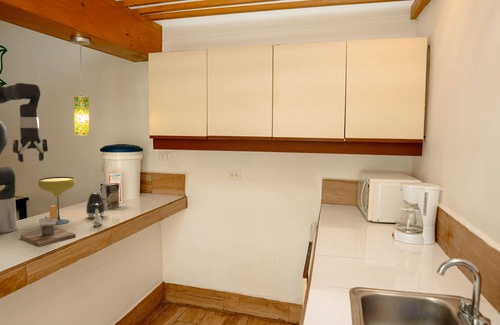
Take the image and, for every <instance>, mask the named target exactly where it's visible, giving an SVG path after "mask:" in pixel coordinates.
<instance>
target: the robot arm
mask: <svg viewBox="0 0 500 325" xmlns="http://www.w3.org/2000/svg"><path fill="white" fill-rule="evenodd" d="M41 96H42V90H41V88H40V86H39V85H38V84H34V83H25V82H24V83H23V82H18V83H15V84H12V85H7V86H1V85H0V105H1V104H5V103H8V102H9V101H20V100H29V101H28V103H23V104H21V105H20V106H19V132H20V133H19V134H20V140H19V139H13V140H12V153H14V154H17V160H18V161H19V162H20V163H24V152H25V151H26V150H27V149H28V150H31V149H35V150H37V152H38V161H39V162H43V160H44V159H45V158H44V157H45V156H44V155H45V154H44V153H46V152H48V151H49V150H48V149H49V148H48V140H47V139H46V138H42V139H40V122H39V116H38V115H39V114H38V112H39V111H38V108H39V104H40V99H41ZM7 130H8V129H7V127H6V126H5V124H4V123H3V121H2V120H0V155H2V153H3V151H4V150H5V148H6V146H7V145H8V140H9V138H8V131H7ZM20 144H21V145H20ZM40 144H41V146H42V147H41V146H40ZM19 145H20V147H19ZM0 186H4V187H3V188H2V189H0V234H4V233H5V234H6V233H10V232H11V233H12V232H14V231H16V230H18V225H17V224H18V223H17V222H18V221H17V204H16V171H15V169H14V168H13V167H11V166H4V167H2V166H1V167H0Z"/></svg>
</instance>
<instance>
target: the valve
mask: <svg viewBox="0 0 500 325" xmlns="http://www.w3.org/2000/svg"><path fill="white" fill-rule="evenodd" d="M101 205H102V206H103V203H93V204H90V206H91V207H94V208H95V209H96V210H95V213H96V214H95V215H94V217H95V218H93V223H92V224H93V226H95V227H98V226H100V225H101V223H102V217H100V214H99V210H98V209H99V207H101Z"/></svg>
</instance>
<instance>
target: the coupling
mask: <svg viewBox="0 0 500 325" xmlns="http://www.w3.org/2000/svg"><path fill="white" fill-rule="evenodd" d="M48 207H49V210H48V211H49V215H44V217H41V218H39V219H38V220H39V227H40V228H42V227H50V226H54V227H55V226H57V225H56V222H57V217H58V206H57V204H55V205H49V206H48Z"/></svg>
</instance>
